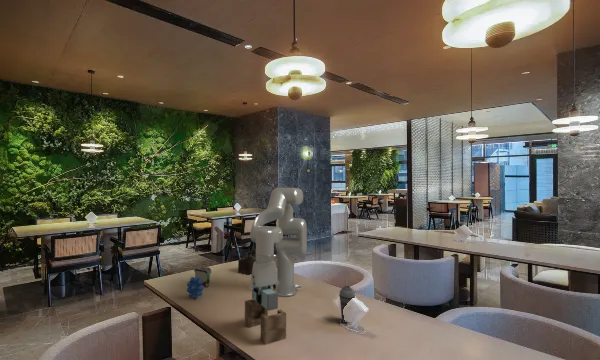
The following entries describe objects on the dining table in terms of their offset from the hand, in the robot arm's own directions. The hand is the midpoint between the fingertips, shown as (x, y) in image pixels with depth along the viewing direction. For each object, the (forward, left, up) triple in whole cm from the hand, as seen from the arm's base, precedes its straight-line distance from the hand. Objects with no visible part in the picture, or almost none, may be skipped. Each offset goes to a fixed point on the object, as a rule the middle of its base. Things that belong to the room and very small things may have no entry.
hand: (264, 301), depth 132 cm
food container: (+5, -73, -12) cm, 74 cm away
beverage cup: (-36, +11, -12) cm, 40 cm away
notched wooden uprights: (0, 0, -12) cm, 12 cm away
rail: (0, 0, -1) cm, 1 cm away
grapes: (+15, -53, -12) cm, 57 cm away
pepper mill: (-29, -82, -12) cm, 88 cm away
